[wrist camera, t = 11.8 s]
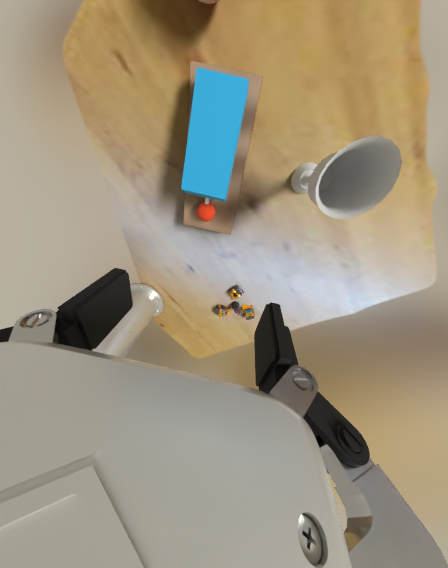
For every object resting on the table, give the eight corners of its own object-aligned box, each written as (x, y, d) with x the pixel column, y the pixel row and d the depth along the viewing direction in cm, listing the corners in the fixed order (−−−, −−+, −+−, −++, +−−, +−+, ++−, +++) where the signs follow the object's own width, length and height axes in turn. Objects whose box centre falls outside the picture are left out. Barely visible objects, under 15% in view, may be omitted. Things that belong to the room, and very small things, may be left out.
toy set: (206, 292, 50) (202, 302, 46) (243, 281, 46) (242, 291, 42) (221, 321, 55) (219, 332, 51) (256, 313, 52) (256, 325, 48)
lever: (206, 105, 29) (189, 217, 34) (196, 66, 22) (177, 214, 27) (246, 115, 28) (222, 225, 34) (249, 79, 22) (219, 224, 27)
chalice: (323, 146, 29) (402, 116, 14) (329, 187, 32) (401, 198, 17) (280, 169, 32) (308, 164, 16) (290, 205, 34) (321, 229, 19)
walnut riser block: (232, 229, 38) (230, 234, 35) (189, 220, 39) (183, 224, 35) (261, 88, 26) (262, 76, 23) (198, 75, 26) (190, 60, 23)
